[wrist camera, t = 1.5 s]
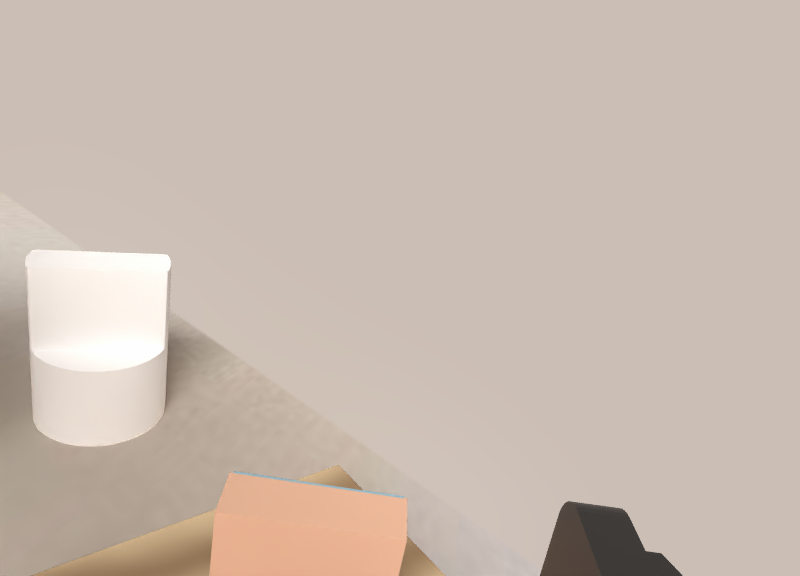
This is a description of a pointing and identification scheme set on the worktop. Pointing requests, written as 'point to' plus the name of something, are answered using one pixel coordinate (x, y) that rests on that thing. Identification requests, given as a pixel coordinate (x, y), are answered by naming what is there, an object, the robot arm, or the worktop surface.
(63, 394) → the base with upright slab
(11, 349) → the worktop surface
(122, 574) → the board
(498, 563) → the worktop surface
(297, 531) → the tile
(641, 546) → the robot arm
